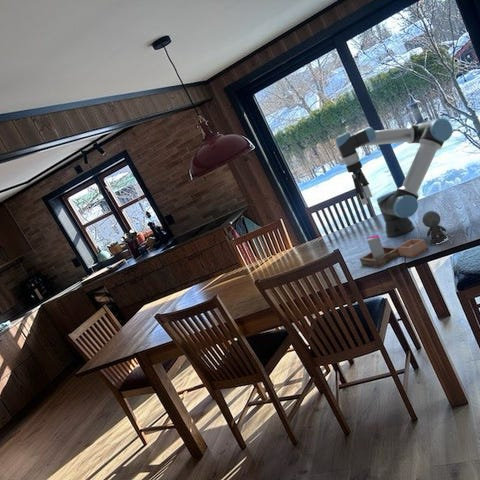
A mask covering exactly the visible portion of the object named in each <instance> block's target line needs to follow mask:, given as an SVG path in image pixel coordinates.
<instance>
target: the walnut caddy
mask: <svg viewBox="0 0 480 480" xmlns="http://www.w3.org/2000/svg"><path fill="white" fill-rule="evenodd" d="M382 247H383V249H384V252H385V255H384V256H382V257H380V258H379V259H377V260H374V258H373V255H372V252H371V251H370V252H369V253H367V254H365V255H363V256H361V257H360V258H359V261H360V263H361V265H362V266H368V267H373V268H380V267H382V266H384V265H385V264H387V263H388V262H390V261H392V260H394V259H396V258H397V257H400V253H399V251H398V248H397V247H391V246H383V245H382Z"/></svg>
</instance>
